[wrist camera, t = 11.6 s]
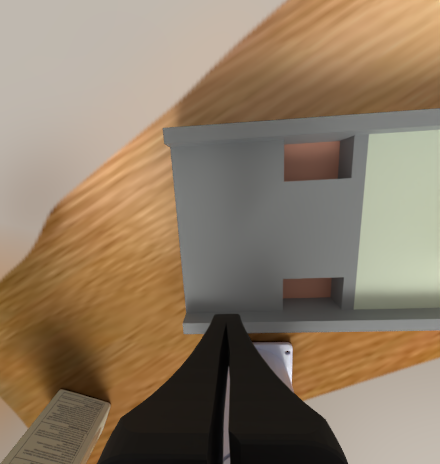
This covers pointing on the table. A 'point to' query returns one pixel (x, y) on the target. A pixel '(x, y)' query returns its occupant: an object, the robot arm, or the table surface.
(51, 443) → the skincare box
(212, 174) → the trap box
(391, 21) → the table surface
